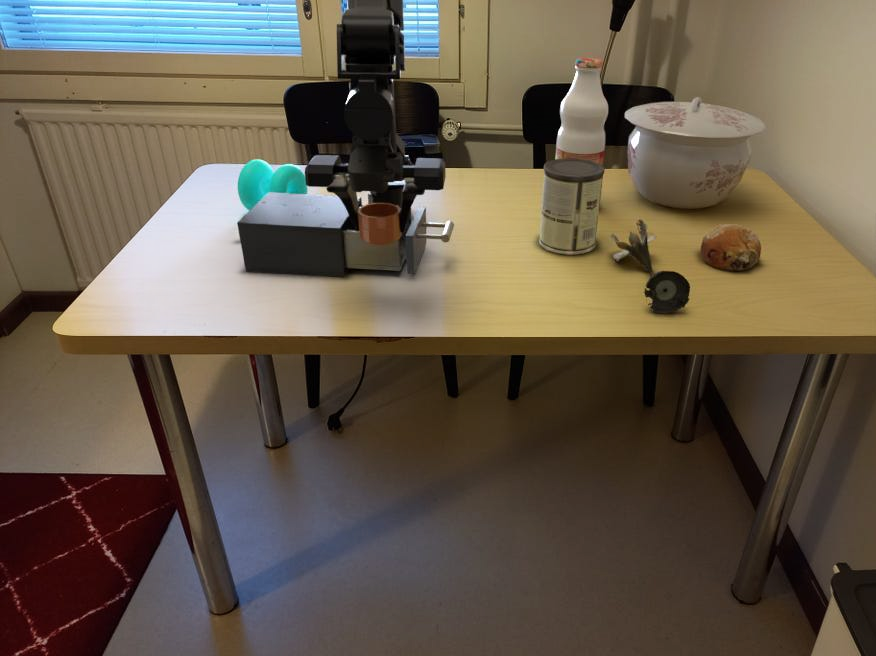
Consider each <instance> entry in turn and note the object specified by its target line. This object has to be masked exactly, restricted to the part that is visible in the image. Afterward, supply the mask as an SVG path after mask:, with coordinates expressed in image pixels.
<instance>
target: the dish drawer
mask: <svg viewBox="0 0 876 656" xmlns="http://www.w3.org/2000/svg"><path fill="white" fill-rule="evenodd" d="M364 205H365V204H362V205H358V208H360V207H361V206H364ZM399 208H400V210H402V207H399ZM412 211H413V210H412V207H411V208H410V212H409V215H408V219H407V223H406V226H405V230H404V233H402V235H401V237H400V238H399V239H398V240H397V241H395V242H393V243H390V244H385V245H375V244H369V243H367V242H365V241H364V240H362V239H361V238H360V234H359V231H356V230H355V227H354V225H353V223H352V221H351V219H349V220H348V222H347V223H346V225H345V226H344V228H343V229H342V241H343V252H344V263H345V268H350V269H360V270H375V271H377V270H378V271H392V272H393V271H394V272H401V270H402V267H403V265H404V263H405V261H406V274H407V275H408V276H409V275H410V276H414V275H416V272H417V269H418V266H419V264H420V261H421V258H422V256H423V253H424V250H425V249H426V245H427V242H428V241H427V239H428V240H441V241H442V242H443V243H449V242H450V241H451V237H452V234H453V231H454V227H455V224H454V222H453V221H452V220H447V221H446V222H427V207H426V206H425V205H418V207H417V210H416V212H415V214H414V216H413V218H412V215H413V214H412ZM427 228H442V229H443V231H442V234H432V233H427Z"/></svg>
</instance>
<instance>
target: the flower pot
mask: <svg viewBox="0 0 876 656" xmlns="http://www.w3.org/2000/svg"><path fill="white" fill-rule="evenodd" d="M363 205H364V206H361V207H360V208H359V209H358V221H359V234H360V238H361V239H362V240H364V241H365V242H367V243H369V244H375V245H385V244H390V243H393V242H395V241H397V240H398V239H399V238H400V237H401V235H402V233H401V226H400V222H401V210H400V208H399V207H398V206H396V205H393V204H390V203H371V204H368V203H367V204H363Z"/></svg>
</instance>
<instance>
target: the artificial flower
mask: <svg viewBox="0 0 876 656" xmlns="http://www.w3.org/2000/svg"><path fill="white" fill-rule="evenodd" d="M636 227H637V231H638V233H636V232H632V231H631V230H629V235H628V242H629V244H628V243H627V242H625V241H620V240H619V238H618V236H617V235H616V234H615V233H611V234H610V239H611V240H612V241H614V242H615V245H616V246H617V248H619V249H621V250H622V251H620V252H616V253H614V254H613V257H612V258H613V259H615V260H616V262H619V261H621V259H624V258H625V257H626V256H627V255H629V256H631V257H632V258H634V259H635V260H636V261H637V262H638V263H639V265H640V266H641V267H643V268H644V269H645V270H646V271H648V272H649V274H651V276H650V277H649V278H648V280H647V282H646V284H645V287H644V291H643V293H644V297H645V298H649V299H650V300H652V301H651V302H649V303H648V304H647V306H650V307H649V309H651V310H653V311H654V312H655V313H657V314H662V315H668V314H670V313H671V312H677V311H680V310H681V309H685V308H686V305H687V304H688V303H689V301H690V300H691V299H690V298H689V296H690V292H691V285H690V283H689V280H688V279H687V278H686V277H685V276H684V275H683V274H681V273H679V272H676V271H673V270H660V271H657V272H656V273H654V269H653V264H652V258H651V253H650V250H649V243H651V242H652V241H653V240H654V239H655V238H657V234H651V236H649V235H648V224H646V223H645V221H644V220H642V219H639V220H637V221H636ZM638 234H639V235H638ZM637 289H639V287H638V288H637ZM647 301H648V300H647V299H646V300H645V302H647Z"/></svg>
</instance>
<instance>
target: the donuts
mask: <svg viewBox="0 0 876 656" xmlns="http://www.w3.org/2000/svg"><path fill="white" fill-rule="evenodd" d="M268 192H272V193H292V194H308V186H307V185H306V181H305V173H304V172H303V170H302V169H301V167H299V166H297V165H295V164H292V163H286V164H282V165H281V166H278V168H277V169H276V170H274V169H273V168H272V166H271V165H270V164H269V163H268V162H266V161H265V160H262V159H257V158H256V159H255V158H254V159H251V160H250V161H248V162H246V163H245V164H244V166H243V167H242V168H241V170H240V172H239V174H238V179H237V194H238V198H239V200H240V202H241V204H242V206H243V207H244V208H245V209H246V210H248V212H249V211H250V210H251V209H252V208H253V207H254V206H255V205H256V204H257V203H258V202H259V201H260V200H261V199H262V198H263V197H264V196H265V195H266V194H267V193H268Z"/></svg>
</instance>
